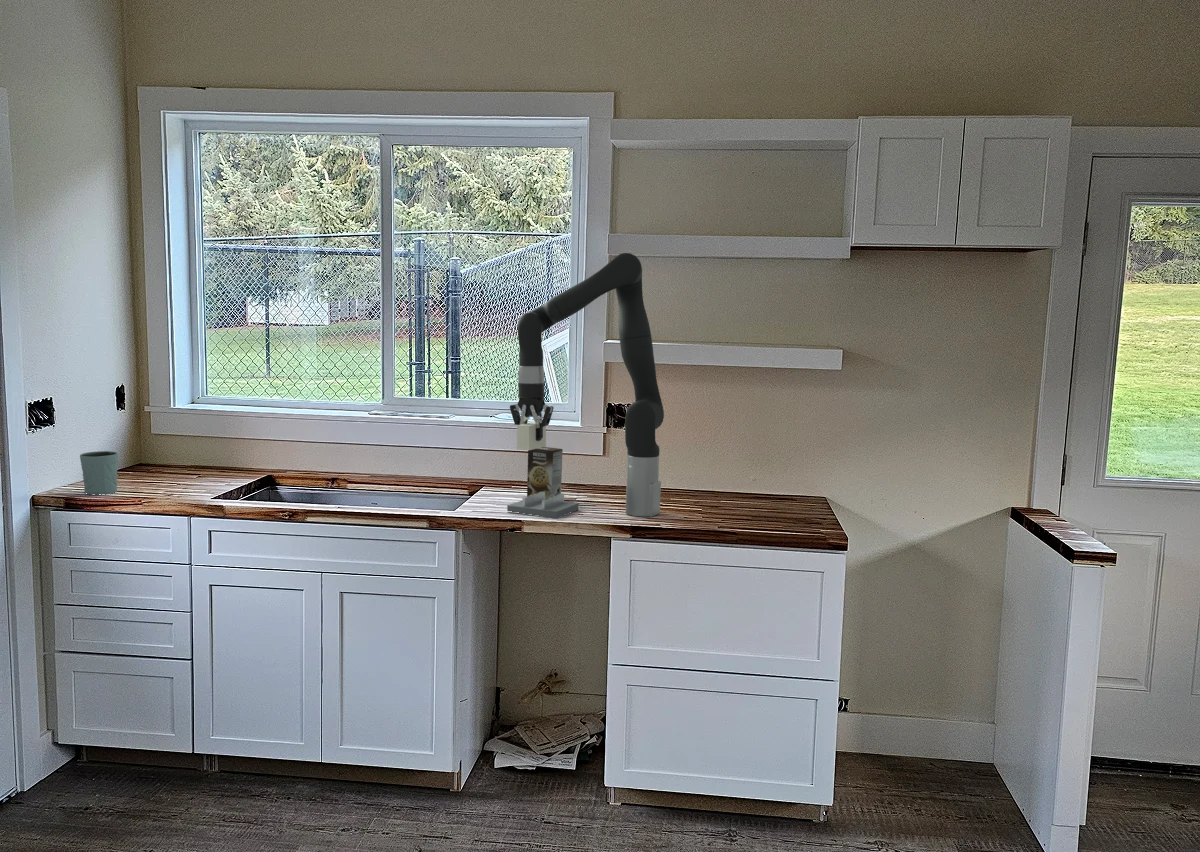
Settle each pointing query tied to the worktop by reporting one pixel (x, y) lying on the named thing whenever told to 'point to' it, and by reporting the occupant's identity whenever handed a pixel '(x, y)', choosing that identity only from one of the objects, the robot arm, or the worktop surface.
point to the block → (529, 437)
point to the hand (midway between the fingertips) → (531, 439)
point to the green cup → (99, 472)
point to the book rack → (543, 505)
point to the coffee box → (544, 471)
